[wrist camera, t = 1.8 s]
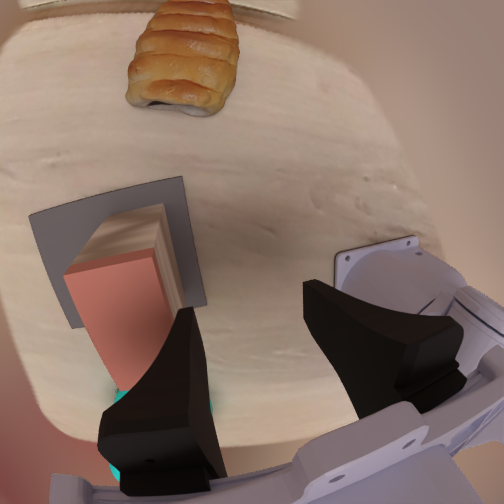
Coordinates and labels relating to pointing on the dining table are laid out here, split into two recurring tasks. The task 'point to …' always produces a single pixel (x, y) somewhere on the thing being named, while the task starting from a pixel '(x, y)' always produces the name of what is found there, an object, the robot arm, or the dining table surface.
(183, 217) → the mat
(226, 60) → the pastry
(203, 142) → the dining table surface
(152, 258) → the block
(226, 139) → the dining table surface
